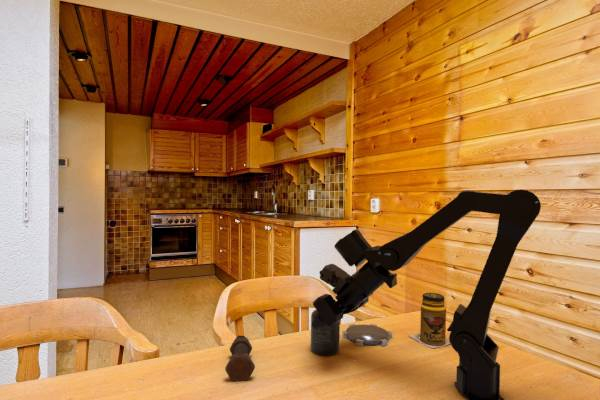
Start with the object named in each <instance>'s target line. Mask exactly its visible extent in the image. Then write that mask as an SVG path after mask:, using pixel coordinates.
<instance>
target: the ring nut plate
mask: <svg viewBox="0 0 600 400" xmlns="http://www.w3.org/2000/svg"><path fill="white" fill-rule="evenodd" d="M342 338H343V339H347V340H348V341H350V342H353V343H354V344H355V345H356V346H357V347H358V346H359V347H364V346H380V347H385V346H388V345H389V344H388V343H389V340H390V339H393V333H392V331H391V330H386V329H384V328H383V327H380V326H378V324H373V323H370V324H355V323H352V324H349V325H348V327H347V328H346V330H342Z"/></svg>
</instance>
